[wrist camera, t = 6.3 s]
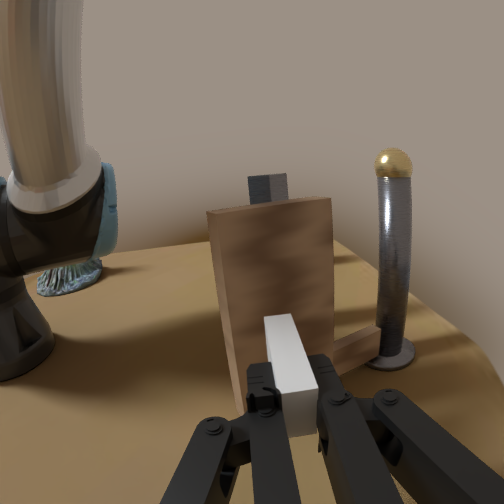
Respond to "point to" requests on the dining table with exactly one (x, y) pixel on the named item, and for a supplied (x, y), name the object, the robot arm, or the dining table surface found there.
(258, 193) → the dark grey bar
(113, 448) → the dining table surface
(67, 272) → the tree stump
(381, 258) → the hinge post
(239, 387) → the gate
